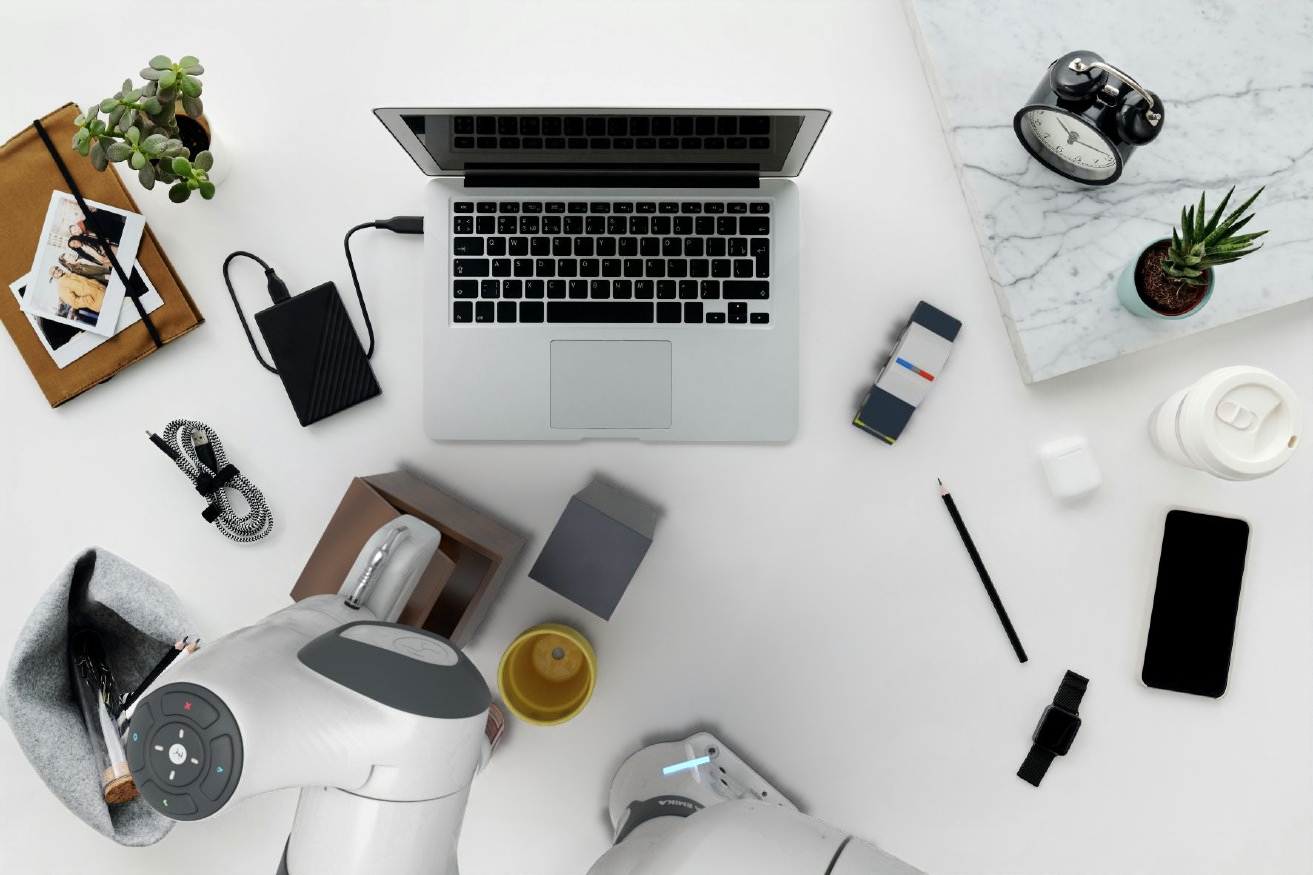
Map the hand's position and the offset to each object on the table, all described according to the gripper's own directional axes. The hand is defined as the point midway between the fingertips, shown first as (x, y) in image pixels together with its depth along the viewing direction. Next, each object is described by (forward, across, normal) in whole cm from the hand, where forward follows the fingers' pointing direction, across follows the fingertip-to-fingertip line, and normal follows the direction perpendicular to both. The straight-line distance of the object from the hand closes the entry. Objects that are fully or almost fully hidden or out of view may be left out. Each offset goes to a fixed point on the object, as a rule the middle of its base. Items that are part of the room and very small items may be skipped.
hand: (389, 614), depth 69 cm
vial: (+22, 0, -3) cm, 23 cm away
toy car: (+23, -45, +34) cm, 61 cm away
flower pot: (+23, +3, +15) cm, 28 cm away
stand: (+23, -13, +13) cm, 30 cm away
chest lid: (+5, 0, -4) cm, 6 cm away
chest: (+23, 0, -3) cm, 23 cm away
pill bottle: (+23, +15, +11) cm, 30 cm away
